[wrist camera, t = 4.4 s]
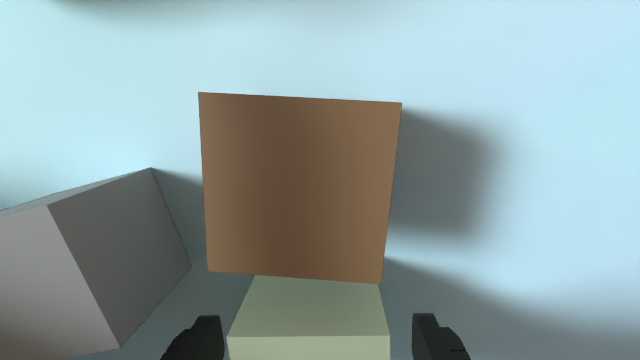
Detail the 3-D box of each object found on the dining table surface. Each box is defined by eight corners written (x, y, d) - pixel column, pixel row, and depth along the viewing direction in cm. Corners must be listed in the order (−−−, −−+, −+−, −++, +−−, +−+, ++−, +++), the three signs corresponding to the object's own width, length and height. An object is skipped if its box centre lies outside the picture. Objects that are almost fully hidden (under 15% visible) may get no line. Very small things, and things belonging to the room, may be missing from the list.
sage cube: (370, 252, 14) (390, 335, 9) (372, 342, 15) (389, 457, 10) (263, 255, 14) (226, 337, 9) (273, 343, 15) (246, 455, 10)
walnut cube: (375, 101, 12) (402, 102, 7) (364, 217, 13) (380, 284, 8) (252, 95, 12) (198, 91, 7) (253, 210, 14) (207, 271, 9)
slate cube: (151, 166, 13) (46, 205, 8) (192, 265, 14) (120, 348, 10) (54, 193, 14) (-98, 243, 9) (100, 285, 15) (-11, 374, 10)
